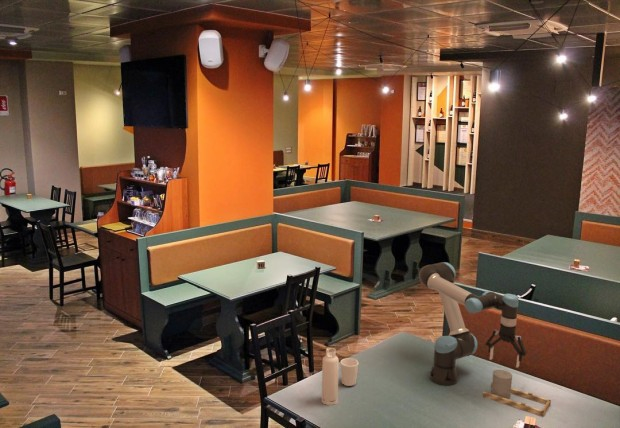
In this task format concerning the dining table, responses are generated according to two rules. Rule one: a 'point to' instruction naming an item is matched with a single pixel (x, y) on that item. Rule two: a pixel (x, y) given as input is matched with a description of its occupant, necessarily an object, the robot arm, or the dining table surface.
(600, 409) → the dining table surface
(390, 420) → the dining table surface
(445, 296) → the robot arm
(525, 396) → the beam frame
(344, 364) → the cup
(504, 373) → the speckled beige cylinder
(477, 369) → the dining table surface
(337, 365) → the bottle
